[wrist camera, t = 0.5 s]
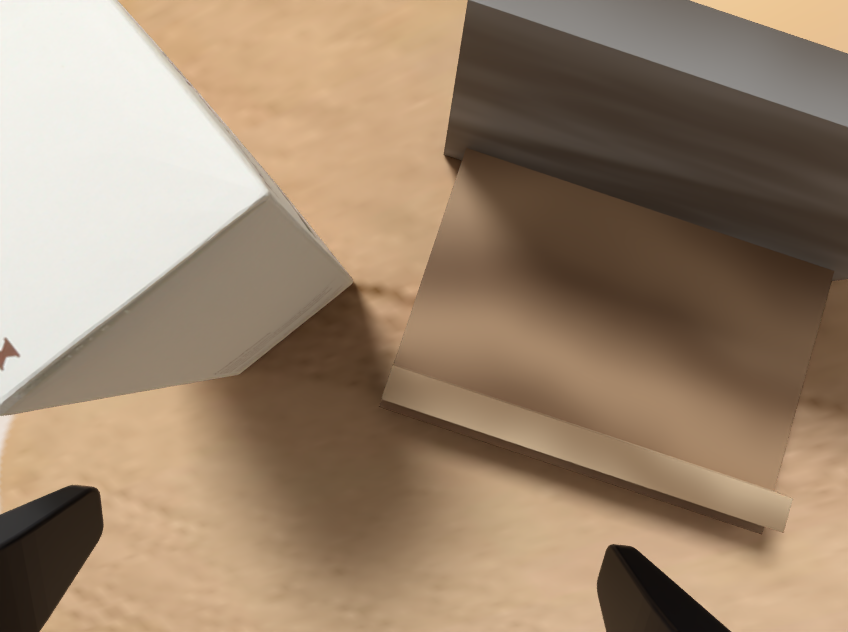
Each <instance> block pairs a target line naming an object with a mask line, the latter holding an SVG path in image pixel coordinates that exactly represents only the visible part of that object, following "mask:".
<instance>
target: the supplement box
mask: <svg viewBox="0 0 848 632" xmlns="http://www.w3.org/2000/svg"><path fill="white" fill-rule="evenodd" d="M352 283H353V279H352V277H351V276H350V275H349V274H348V272H347V271H346V270H345V269H344V267H343V266H342V265H341V264H340V262H339V261H338V260H337V259H336V257H335V256H334V255H333V254H332V252H331V251H330V250H329V249H328V247H327V246H326V245H325V244H324V242H323V241H322V240H321V239H320V237H319V236H318V235H317V234H316V232H315V231H314V230H313V229H312V227H311V226H310V225H309V224H308V222H307V221H306V220H305V219H304V217H303V216H302V215H301V214H300V212H299V211H298V210H297V209H296V207H295V206H294V205H293V204H292V203H291V201H290V200H289V199H288V198H287V196H286V195H285V194H284V193H283V192H282V190H281V189H280V188H279V187H278V185H277V184H276V183H275V182H274V181H273V179H272V178H271V177H270V176H269V175H268V173H267V172H266V171H265V170H264V169H263V168H262V166H261V165H260V164H259V163H258V162H257V160H256V159H255V158H254V157H253V156H252V155H251V153H250V152H249V151H248V150H247V149H246V147H245V146H244V145H243V144H242V143H241V142H240V140H239V139H238V138H237V137H236V136H235V134H234V133H233V132H232V131H231V130H230V129H229V127H228V126H227V125H226V124H225V123H224V122H223V120H222V119H221V118H220V117H219V116H218V115H217V113H216V112H215V111H214V110H213V109H212V108H211V106H210V105H209V104H208V103H207V102H206V101H205V100H204V98H203V97H202V96H201V95H200V94H199V93H198V91H197V90H196V89H195V88H194V87H193V86H192V84H191V83H190V82H189V81H188V80H187V79H186V78H185V76H184V75H183V74H182V73H181V72H180V71H179V69H178V68H177V67H176V66H175V65H174V64H173V62H172V61H171V60H170V59H169V58H168V57H167V56H166V54H165V53H164V52H163V51H162V50H161V49H160V47H159V46H158V45H157V44H156V43H155V42H154V41H153V39H152V38H151V37H150V36H149V35H148V34H147V33H146V32H145V30H144V29H143V28H142V27H141V26H140V25H139V24H138V23H137V22H136V20H135V19H134V18H133V17H132V16H131V15H130V14H129V13H128V11H127V10H126V9H125V8H124V7H123V6H122V5H121V4H120V3H119V1H118V0H0V416H4V415H12V414H18V413H23V412H28V411H34V410H39V409H45V408H50V407H56V406H61V405H67V404H73V403H79V402H85V401H91V400H97V399H102V398H108V397H113V396H119V395H125V394H130V393H136V392H142V391H148V390H154V389H159V388H165V387H171V386H177V385H183V384H188V383H194V382H200V381H206V380H211V379H217V378H223V377H229V376H234V375H239V374H240V373H242V372H243V371H244V370H245V369H247V368H248V367H249V366H250V365H252V364H253V363H254V362H255V361H257V360H258V359H259V358H261V357H262V356H263V355H264V354H265V353H267V352H268V351H269V350H270V349H272V348H273V347H274V346H275V345H276V344H278V343H279V342H280V341H282V340H283V339H284V338H285V337H287V336H288V335H289V334H290V333H291V332H293V331H294V330H295V329H297V328H298V327H299V326H300V325H302V324H303V323H304V322H305V321H307V320H308V319H309V318H310V317H312V316H313V315H314V314H315V313H317V312H318V311H319V310H320V309H322V308H323V307H324V306H325V305H327V304H328V303H329V302H330V301H332V300H333V299H334V298H335V297H337V296H338V295H339V294H340V293H342V292H343V291H344V290H345V289H346V288H348V287H349V286H350V285H351V284H352Z"/></svg>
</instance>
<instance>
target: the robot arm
mask: <svg viewBox="0 0 848 632" xmlns="http://www.w3.org/2000/svg"><path fill="white" fill-rule="evenodd" d="M102 531H103V515H102V506H101V498H100V492H99V491H98V489H97V488H95V487H90V486H81V485H70V486H67V487H65V488H62V489H60V490H58V491H55V492H53V493H50V494H48V495H46V496H43V497H41V498H39V499H36V500H34V501H31V502H29V503H27V504H24V505H22V506H20V507H17V508H15V509H13V510H10V511H8V512H5V513H3V514H1V515H0V632H40V630H41V629H42V627H43V626H44V625H45V623H46V622H47V620H48V619H49V617H50V616H51V614H52V613H53V611H54V609H55V608H56V606H57V605H58V603H59V602H60V600H61V599H62V597H63V595H64V594H65V592H66V591H67V589H68V588H69V586H70V585H71V583H72V582H73V580H74V578H75V577H76V575H77V574H78V572H79V571H80V569H81V568H82V566H83V564H84V563H85V561H86V560H87V558H88V557H89V555H90V554H91V552H92V550H93V549H94V547H95V546H96V544H97V543H98V541H99V539H100V537H101V535H102ZM597 593H598V598H599V602H600V606H601V611H602V615H603V619H604V624H605V628H606V632H731V631H730V630H729V629H728V628H726V627H725V626H724V625H723V624H722V623H721V622H719V621H718V620H717V619H716V618H715V617H714V616H713V615H711V614H710V613H709V612H708V611H707V610H706V609H705V608H703V607H702V606H701V605H700V604H699V603H698V602H696V601H695V600H694V599H693V598H692V597H691V596H690V595H688V594H687V593H686V592H685V591H684V590H683V589H682V588H680V587H679V586H678V585H677V584H676V583H675V582H674V581H672V580H671V579H670V578H669V577H668V576H667V575H665V574H664V573H663V572H662V571H661V570H660V569H659V568H657V567H656V566H655V565H654V564H653V563H652V562H651V561H649V560H648V559H647V558H646V557H645V556H644V555H642V554H641V553H640V552H639V551H638V550H637V549H635V548H634V547H631V546H625V545H616V544H612V545H609V546H608V548H607V549H606V552H605V555H604V559H603V562H602V566H601V569H600V572H599V576H598V580H597Z"/></svg>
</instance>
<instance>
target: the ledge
mask: <svg viewBox="0 0 848 632" xmlns="http://www.w3.org/2000/svg"><path fill="white" fill-rule="evenodd" d="M444 155H447V156H450V157H453V158H456V159H459V160H461V161H462V162H461V165H460V168H459V171H458V174H457V177H456V180H455V183H454V186H453V189H452V192H451V195H450V198H449V201H448V204H447V207H446V210H445V213H444V216H443V219H442V222H441V225H440V228H439V231H438V234H437V237H436V240H435V242H434V245H433V248H432V251H431V254H430V257H429V260H428V263H427V266H426V269H425V272H424V275H423V278H422V281H421V284H420V287H419V290H418V293H417V296H416V299H415V302H414V305H413V308H412V311H411V314H410V317H409V320H408V323H407V326H406V329H405V332H404V335H403V338H402V341H401V344H400V347H399V350H398V353H397V356H396V359H395V362H394V364H393V366H392V368H391V371H390V374H389V377H388V380H387V383H386V386H385V389H384V392H383V395H382V398H381V399H382V400H381V403H380V406H379V407H381V408H384V409H387V410H390V411H393V412H396V413H399V414H402V415H405V416H408V417H411V418H414V419H417V420H420V421H423V422H426V423H429V424H432V425H435V426H438V427H441V428H444V429H447V430H450V431H453V432H456V433H459V434H462V435H465V436H468V437H471V438H474V439H477V440H480V441H483V442H486V443H489V444H492V445H495V446H498V447H501V448H504V449H507V450H510V451H513V452H516V453H519V454H522V455H525V456H528V457H531V458H534V459H537V460H540V461H543V462H546V463H549V464H552V465H555V466H558V467H561V468H564V469H567V470H570V471H573V472H576V473H579V474H582V475H585V476H588V477H591V478H594V479H597V480H600V481H603V482H606V483H609V484H612V485H615V486H618V487H621V488H624V489H627V490H630V491H633V492H636V493H639V494H642V495H645V496H648V497H651V498H654V499H657V500H660V501H663V502H666V503H669V504H672V505H675V506H678V507H681V508H684V509H687V510H690V511H693V512H696V513H699V514H702V515H705V516H708V517H711V518H714V519H717V520H720V521H723V522H726V523H729V524H732V525H735V526H738V527H741V528H744V529H747V530H750V531H753V532H756V533H759V534H762V532H763V528H764V527H767V528H770V529H773V530H776V531H779V532H782V533H784V529H785V526H786V522H787V518H788V515H789V511H790V507H791V504H792V500H793V499H792V498H790V497H787V496H785V495H783V494H780V493H778V492H775V491H774V488H775V485H776V481H777V478H778V474H779V470H780V467H781V463H782V459H783V456H784V452H785V449H786V445H787V441H788V438H789V434H790V430H791V427H792V423H793V419H794V416H795V412H796V409H797V405H798V401H799V398H800V394H801V390H802V387H803V383H804V380H805V376H806V372H807V369H808V365H809V361H810V358H811V354H812V350H813V347H814V343H815V340H816V336H817V332H818V329H819V325H820V321H821V318H822V314H823V311H824V307H825V303H826V300H827V296H828V292H829V289H830V285H831V282H832V281H836V280H843V279H848V54H847V53H844V52H841V51H838V50H835V49H832V48H829V47H826V46H823V45H820V44H817V43H814V42H811V41H808V40H806V39H803V38H799V37H797V36H794V35H791V34H788V33H785V32H782V31H778V30H776V29H773V28H770V27H767V26H764V25H761V24H758V23H755V22H752V21H749V20H746V19H743V18H740V17H737V16H734V15H731V14H728V13H725V12H722V11H719V10H716V9H713V8H710V7H707V6H704V5H701V4H698V3H695V2H692V1H690V0H468V2H467V9H466V15H465V22H464V28H463V34H462V41H461V47H460V54H459V60H458V66H457V73H456V79H455V85H454V92H453V98H452V105H451V111H450V117H449V124H448V130H447V137H446V143H445V149H444Z"/></svg>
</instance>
